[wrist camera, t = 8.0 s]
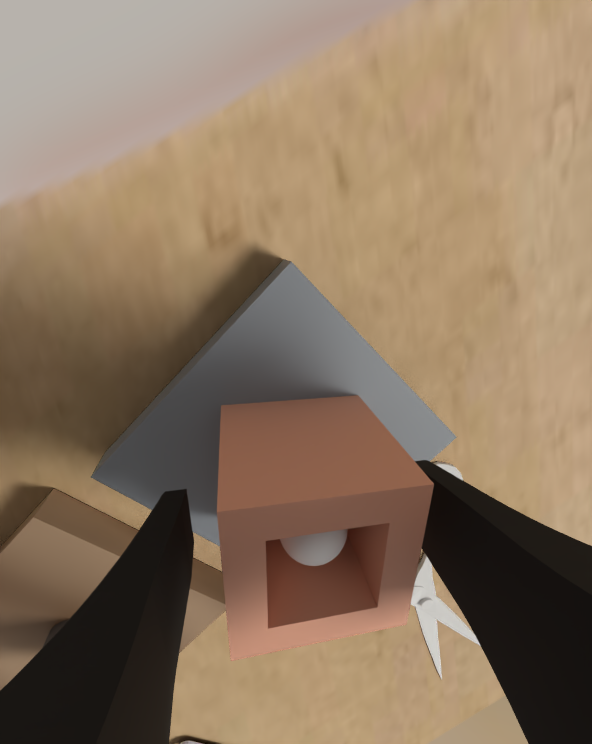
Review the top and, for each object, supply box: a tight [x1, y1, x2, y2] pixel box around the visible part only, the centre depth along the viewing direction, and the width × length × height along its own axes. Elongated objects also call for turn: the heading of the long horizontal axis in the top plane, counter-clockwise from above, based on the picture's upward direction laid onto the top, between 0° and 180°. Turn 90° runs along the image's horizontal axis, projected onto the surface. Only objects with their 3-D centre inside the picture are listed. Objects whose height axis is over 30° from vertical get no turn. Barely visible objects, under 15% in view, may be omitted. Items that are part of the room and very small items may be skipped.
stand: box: [0, 489, 226, 690], centre depth 13 cm, size 9×9×6 cm
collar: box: [217, 395, 434, 661], centre depth 11 cm, size 5×5×5 cm
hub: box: [91, 260, 456, 566], centre depth 12 cm, size 10×10×6 cm
